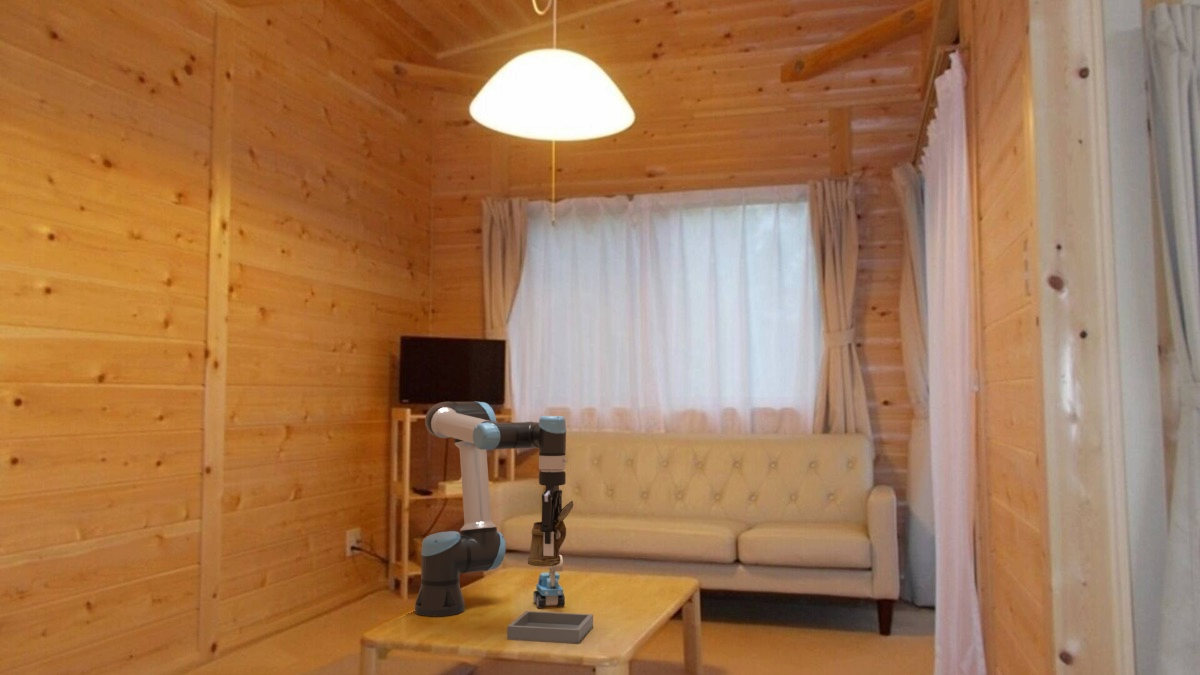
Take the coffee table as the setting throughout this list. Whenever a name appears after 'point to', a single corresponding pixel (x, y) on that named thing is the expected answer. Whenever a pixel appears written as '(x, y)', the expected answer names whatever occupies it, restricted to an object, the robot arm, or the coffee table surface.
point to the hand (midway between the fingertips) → (551, 553)
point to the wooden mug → (537, 540)
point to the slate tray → (550, 627)
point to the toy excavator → (550, 588)
